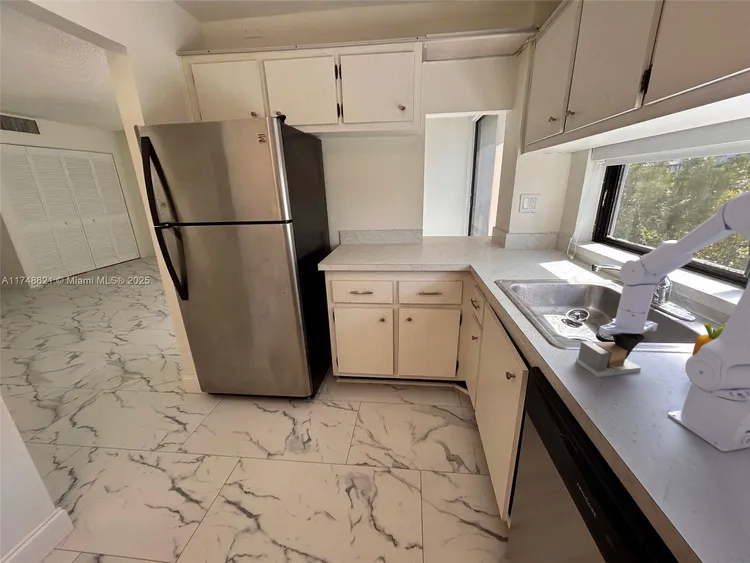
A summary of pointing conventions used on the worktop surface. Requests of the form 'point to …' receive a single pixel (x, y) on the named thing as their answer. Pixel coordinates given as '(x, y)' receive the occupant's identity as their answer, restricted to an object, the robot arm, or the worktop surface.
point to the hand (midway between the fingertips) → (620, 357)
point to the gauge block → (614, 355)
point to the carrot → (707, 337)
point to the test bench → (609, 372)
